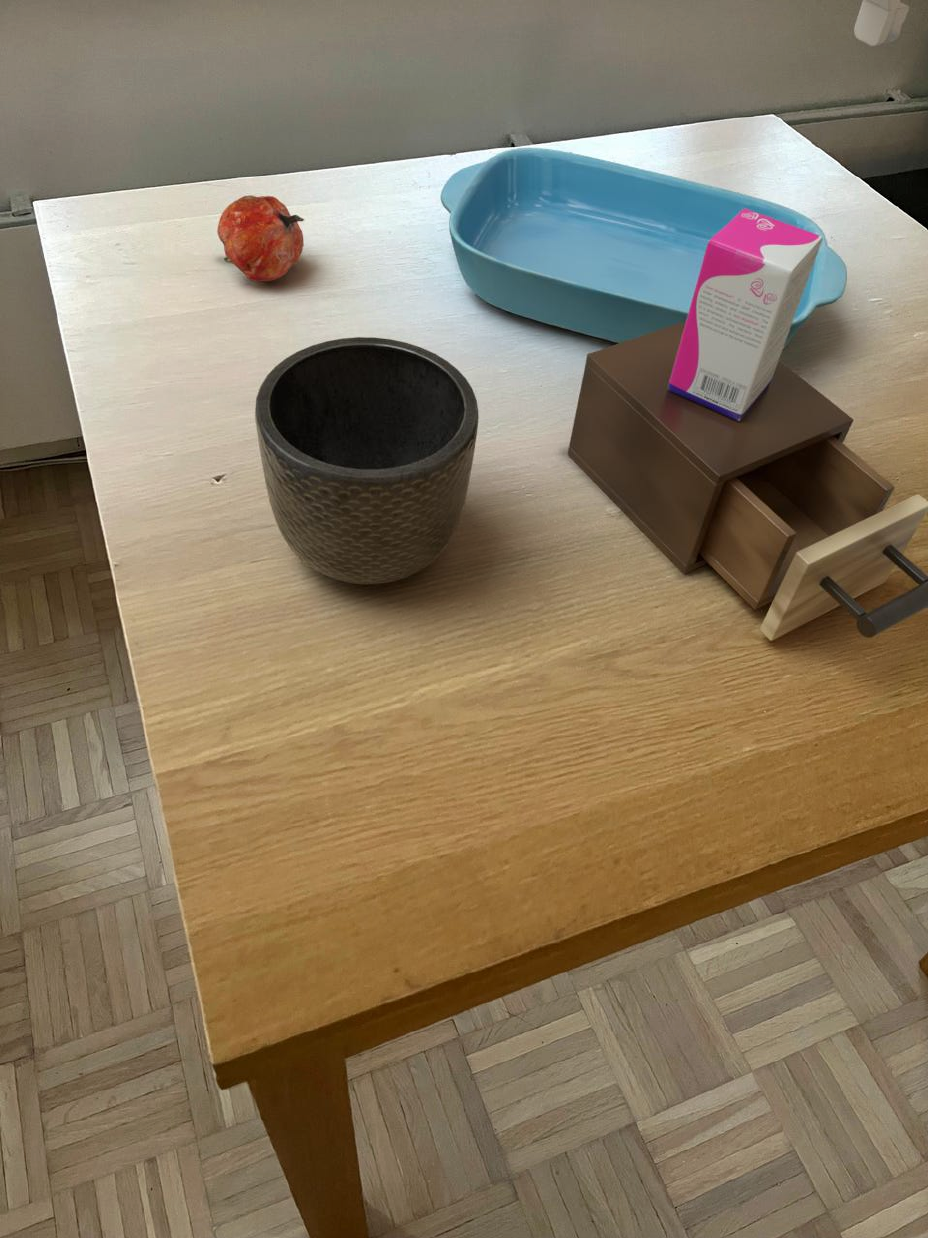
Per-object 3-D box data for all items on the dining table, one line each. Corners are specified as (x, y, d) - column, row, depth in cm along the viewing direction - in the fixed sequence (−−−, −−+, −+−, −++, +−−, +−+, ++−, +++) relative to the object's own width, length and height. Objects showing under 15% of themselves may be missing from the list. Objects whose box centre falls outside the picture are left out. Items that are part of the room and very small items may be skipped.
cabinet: (808, 516, 79) (854, 419, 71) (684, 574, 74) (719, 476, 66) (687, 408, 86) (717, 309, 79) (567, 454, 81) (587, 353, 74)
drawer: (938, 629, 71) (991, 552, 65) (822, 694, 67) (867, 618, 61) (759, 468, 80) (791, 389, 74) (647, 516, 76) (671, 436, 70)
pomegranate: (218, 308, 94) (288, 275, 87) (176, 231, 91) (245, 191, 85) (269, 279, 99) (339, 247, 92) (231, 205, 96) (300, 166, 89)
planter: (281, 473, 77) (269, 328, 67) (465, 483, 78) (479, 341, 68) (257, 614, 69) (238, 471, 59) (464, 625, 69) (480, 485, 59)
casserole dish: (831, 280, 101) (858, 212, 95) (809, 415, 87) (839, 344, 81) (476, 196, 106) (482, 127, 100) (402, 311, 92) (404, 238, 86)
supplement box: (772, 382, 73) (828, 234, 65) (738, 423, 70) (792, 274, 61) (700, 350, 75) (744, 203, 66) (664, 389, 72) (705, 240, 63)
